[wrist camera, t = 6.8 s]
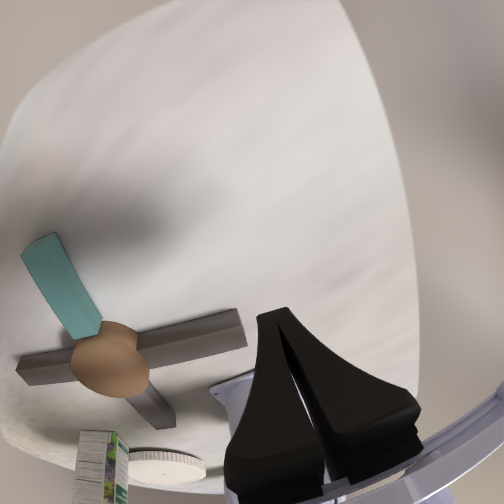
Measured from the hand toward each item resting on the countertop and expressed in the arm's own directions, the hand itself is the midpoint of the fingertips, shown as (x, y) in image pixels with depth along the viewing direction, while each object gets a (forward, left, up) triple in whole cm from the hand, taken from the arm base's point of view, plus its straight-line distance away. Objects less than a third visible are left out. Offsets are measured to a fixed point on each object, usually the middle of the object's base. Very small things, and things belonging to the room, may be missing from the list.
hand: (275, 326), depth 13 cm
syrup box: (-20, +30, -10) cm, 37 cm away
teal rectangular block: (+3, +14, -9) cm, 17 cm away
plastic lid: (-31, +28, -10) cm, 42 cm away
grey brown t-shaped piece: (-9, +16, -9) cm, 20 cm away
